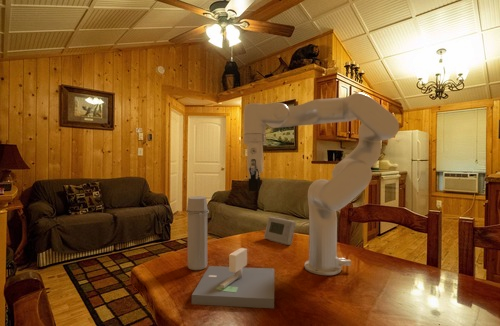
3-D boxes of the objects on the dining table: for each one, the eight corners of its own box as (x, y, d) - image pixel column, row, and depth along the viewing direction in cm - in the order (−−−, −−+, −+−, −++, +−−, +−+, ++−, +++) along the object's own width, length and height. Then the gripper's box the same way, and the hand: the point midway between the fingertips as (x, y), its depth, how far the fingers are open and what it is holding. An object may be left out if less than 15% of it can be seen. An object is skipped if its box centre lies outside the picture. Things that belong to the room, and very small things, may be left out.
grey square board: (274, 276, 92) (274, 268, 92) (274, 308, 72) (274, 298, 72) (209, 273, 94) (209, 265, 94) (191, 304, 74) (191, 294, 74)
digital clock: (262, 238, 135) (262, 217, 135) (276, 236, 140) (276, 215, 140) (283, 247, 122) (284, 223, 122) (299, 244, 127) (299, 221, 127)
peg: (240, 272, 89) (240, 247, 89) (247, 274, 88) (247, 248, 88) (218, 288, 78) (218, 260, 78) (225, 290, 77) (225, 261, 77)
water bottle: (184, 265, 102) (184, 196, 101) (205, 262, 105) (205, 195, 104) (189, 275, 93) (189, 200, 93) (212, 271, 96) (212, 199, 96)
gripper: (264, 138, 87) (264, 192, 88) (266, 141, 105) (266, 187, 105) (240, 138, 88) (240, 192, 88) (246, 141, 105) (246, 186, 105)
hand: (254, 189), depth 97 cm, fingers open, 9 cm apart
